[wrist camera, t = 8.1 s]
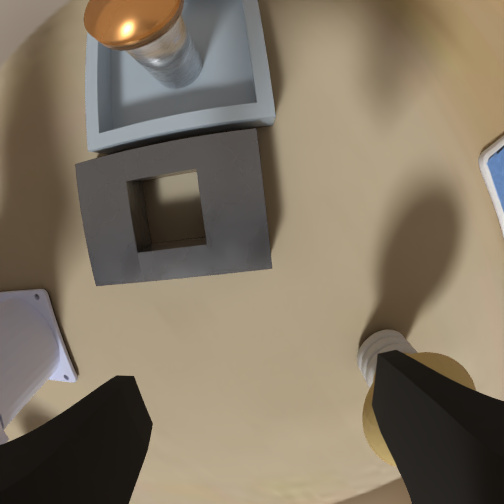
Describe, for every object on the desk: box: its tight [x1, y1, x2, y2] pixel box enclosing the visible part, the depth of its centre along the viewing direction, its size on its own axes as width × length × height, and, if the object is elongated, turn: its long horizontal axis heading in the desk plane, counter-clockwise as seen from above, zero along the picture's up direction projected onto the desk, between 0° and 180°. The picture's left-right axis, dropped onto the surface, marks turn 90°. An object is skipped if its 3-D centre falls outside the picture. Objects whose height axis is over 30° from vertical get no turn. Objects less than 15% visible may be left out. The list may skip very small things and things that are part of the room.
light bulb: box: [357, 330, 476, 467], centre depth 14 cm, size 6×6×10 cm
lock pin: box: [84, 0, 202, 89], centre depth 11 cm, size 4×4×8 cm
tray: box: [85, 0, 276, 154], centre depth 14 cm, size 10×10×2 cm
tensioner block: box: [75, 128, 272, 286], centre depth 16 cm, size 10×7×2 cm
